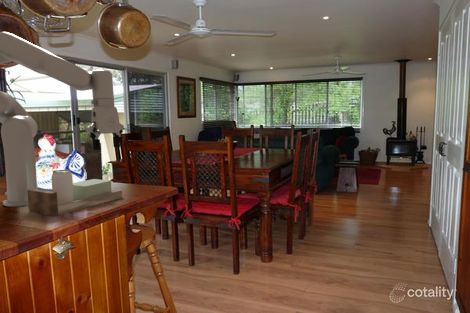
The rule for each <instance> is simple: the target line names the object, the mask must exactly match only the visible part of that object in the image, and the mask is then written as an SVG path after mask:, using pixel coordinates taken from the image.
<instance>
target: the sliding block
mask: <svg viewBox="0 0 470 313" xmlns="http://www.w3.org/2000/svg"><path fill="white" fill-rule="evenodd" d="M109 192H112V180H106V179H103V180H99V179H91V180H86V179H85V180H82V181H78V182H73V196H74V201H77V200H81V199H85V198H89V197H93V196H97V195H101V194H105V193H109Z"/></svg>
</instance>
